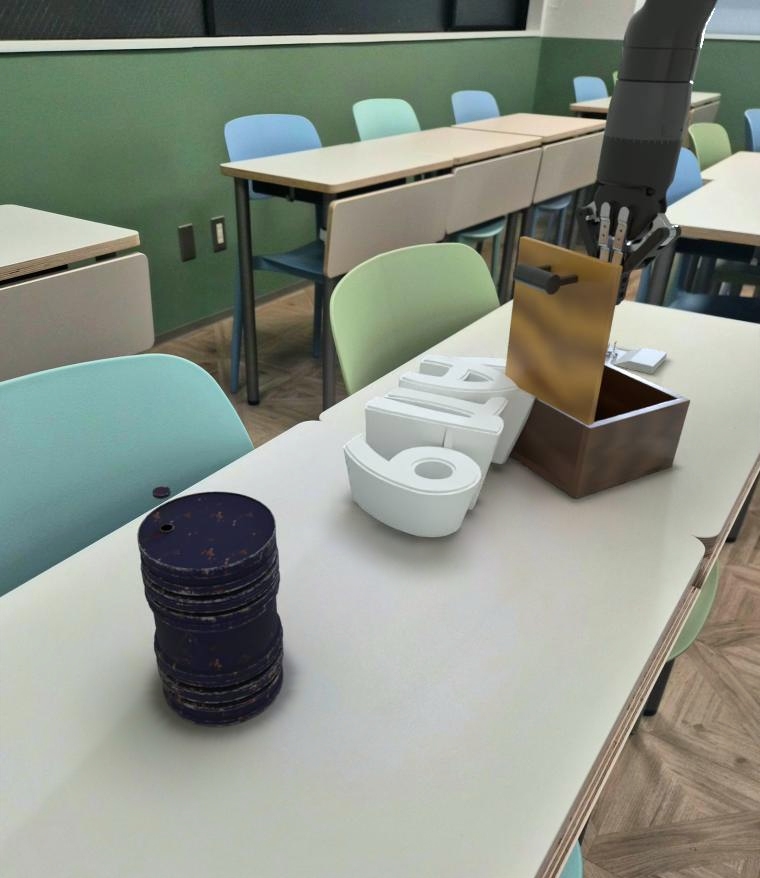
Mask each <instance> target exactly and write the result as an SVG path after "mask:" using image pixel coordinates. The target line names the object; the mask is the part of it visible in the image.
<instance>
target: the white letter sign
mask: <svg viewBox="0 0 760 878" xmlns="http://www.w3.org/2000/svg"><path fill="white" fill-rule="evenodd" d="M506 360H507V358H501V357H500V358H498V357H480V356H479V357H478V356H462V357H454V356H448V355H443V354H436V353H429V354H427V355H425V356H424V357H423V358H422V359H421V360H420V365H419V370H418V372H414V371H412V370H411V371H410V370H408V371H406V372H405V373H403V374H402V375H400V377H399V378H398V386H396V387H394V388H393V389H391V390H390V391H389V392H387V393H386V395H384V397H383V396H380V395H376V396H374V397H373V398H371V399H369V400H368V402H367V403H366V404H365V406H364V409H365V410H364V411H365V412H364V413H365V414H364V415H365V439H364V437H363V435H362V434H361V432H358V433H357V434H356V435H354V436H353V437H352V438H350V439H349V440H348V441H347V442H346V443H345V444H344V445H343V447H342V448H343V453H344V454H343V455H344V459H345V464H346V470H347V475H348V482H349V487H350V492H351V497H352V498H353V500H354V501H355V503H356V504H357V506H359V507H360V508H361V509H362V510H363V511H364V512H366V513H367V514H368V515H370V517H372V518H374V519H375V520H377V521H379V522H381V523H382V524H384V525H387V526H389V527H391V528H394V529H395V530H398V531H401V532H403V533H406V534H409V535H413V536H417V537H423V538H439V537H440V538H441V537H445V536H449V535H451V534H453V533H455V532H457V531H458V530H459V529H460V527H461V525H462V523H463V521H464V518H465V516H466V514H467V512H468V510H473V509H474V508H475V507H476V503H477V501H478V498H479V495H480V493H481V489H482V487H483V485H484V482H485V479H486V477H487V473H488V471H489V468H490V465H491V463H493V464H498V465H503V464H504V463H506V462H507V461H508V458H509V457H510V453H511V451H512V449H513V447H514V445H515V443H516V441H517V439H518V437H519V435H520V433H521V431H522V429H523V427H524V426H525V424H526V421H527V419H528V417H529V414H530V412H531V409H532V406H533V403H534V400H535V398H537V397H535V396H533V395H531V394H529V393H528V392H526V391H524V390H522V389H520V388H519V387H518V386H517V385H516V384H515V383H514V382H513V381H512V380H511V379H510V378H509V377H507V376H506V375H505V370H506Z"/></svg>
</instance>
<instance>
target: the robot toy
mask: <svg viewBox="0 0 760 878" xmlns="http://www.w3.org/2000/svg"><path fill="white" fill-rule="evenodd" d="M617 342H618V340H617V341H614V343H613V345H611V343H610V341H609V343H608V348H607V353H606V359H605V362H607V363H609V364H611V365H613V366H616V367H619V368H623V369H624V368H625V369H628V370H632V371H637V372H641V373H645V374H649V375H653V373H654V372H655V371H657V369H658V368H659V367H660V366H661V365H663V363H664V362H665V361H666V359H667V356H668V352H665V351H660V350H656V349H652V348H647V347H641V348H637V349H633V350H629V351H626V350H621V349H618V348H617V347H616V346H617V345H616V344H617Z"/></svg>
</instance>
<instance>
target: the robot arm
mask: <svg viewBox="0 0 760 878" xmlns="http://www.w3.org/2000/svg"><path fill="white" fill-rule="evenodd" d="M718 2H719V0H645V1H644V3H643V5H642V6H641V8H639V9H638V10H637V11H635V12H634V13H633V14H632V16H631V17H630V19H629V21H628V23H627V25H626V28H625V31H624V37H623V41H622V46H621V52H620V57H619V62H618V68H617V73H616V80H615V84H614V87H613V90H612V91H613V92H612V94H611V97H610V100H609V105H608V109H607V114H606V120H605V126H604V132H603V135H602V136H603V138H602V142H601V148H600V154H599V160H598V163H597V169H596V170H597V171H596V179H597V181H598V182H599V186H598V188H597V190H596V192H595V193H594V196H593V197H594V198H593V201H592V202H590V203H589V204H588V205H586V206H583V207H578V208H576V210H575V215H574V216H575V218H576V222H577V225H578V229H579V231H580V234H581V237H582V240H583V243H584V246H585V250H586V253H587V255H588V256H591V257H594V258H597V259H601V260H604V261H607V262H610V263H614V264H617V265H620V266H623V268H622V273H621V278H620V284H619V289H618V294H617V300H616V305H615V307H616V306H619V305H620V304H621V303H622V302H623V301H624V300H625V298H626V297H627V296H626V295H627V291H628V286H629V282H630V276H631V274H632V272H634V271H638V270H645V269H647V268H649V267H650V266H651V265H652V264H653V263H654V262H655V261H656V260H657V259H658V258H659V257H660V256H661V255H662V254H663V253H664V252H665V251H666V250H667V249H668V248H669V247H670V246H671V245H673V244H674V243H675V241H676V240H677V239H678V238H680V237H681V235H682V227H681V226H679V225H672V223H671V222H670V220H669V219H668V217H667V215H666V213H667V209H668V202H667V192H668V189H669V188H670V187H671V185H672V184H673V182H674V181H675V176H676V172H677V167H678V163H679V159H680V154H681V151H682V145H683V142H684V137H685V133H686V128H687V124H688V120H689V116H690V111H691V106H692V105H691V103H692V94H693V87H694V81H695V76H696V72H697V69H698V64H699V59H700V55H701V51H702V45H703V41H704V34H705V30H706V27H707V25H708V22H709V21H710V19H711V17H712V15H713V13H714V10H715V9H716V6H717V4H718Z"/></svg>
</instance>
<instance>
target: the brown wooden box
mask: <svg viewBox="0 0 760 878" xmlns="http://www.w3.org/2000/svg"><path fill="white" fill-rule="evenodd" d="M690 404H691V399H689V398H686V397H685V396H683V395H680V394H678V393H676V392H673V391H671V390H669V389H668V388H667V389H666V388H665V387H662V386H660V385H658V384H655V383H654V382H652V381H650V380H647V379H644V378H642V377H640V376H638V375H636V374H633V373H631V372H629V371H627V370H625V369H623V368H621V367H619V366H615V365H611V364H609V363H607V362H605V364H604V369H603V375H602V380H601V385H600V391H599V396H598V402H597V407H596V412H595V418H594V423H593V424H592V425H586V424H584V423H582V422H580V421H579V420H577V419H575V418H573V417H571V416H570V415H568V414H566V413H564V412H562V411H560V410H559V409H557V408H555V407H553V406H551V405H550V404H548V403H546V402H544V401H542V400H540V399H539V398H535V400H534V403H533V406H532V409H531V412H530V414H529V417H528V419H527V421H526V424H525V426H524V427H523V429H522V431H521V433H520V435H519V437H518V439H517V441H516V443H515V445H514V447H513V449H512V451H511V453H510V455H509V457H512V458H513V459H514V460H516V461H518V462H519V463H521V465H523V466H525V467H527V468H528V469H530V470H531V471H533V472H534V473H536V474H537V475H539V476H540V477H542V478H543V479H545V480H546V481H548V482H550V483H551V484H552V485H554V486H555V487H557V488H559V489H560V490H562V491H563V492H564V493H566V494H568V495H569V496H570V497H572V498H574V499H575V500H576V499H577V500H578V499H580V498H583V497H585V496H588V495H592V494H594V493H595V494H596V493H598V492H600V491H604V490H607V489H610V488H612V487H616V486H618V485H621V484H624V483H627V482H630V481H633V480H636V479H639V478H642V477H645V476H648V475H651V474H654V473H658V472H660V471H663V470H666V469H668V468H672V467H673V464H674V461H675V459H676V458H675V457H676V453H677V451H678V447H679V443H680V439H681V436H682V432H683V429H684V425H685V422H686V418H687V414H688V411H689V407H690Z"/></svg>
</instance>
